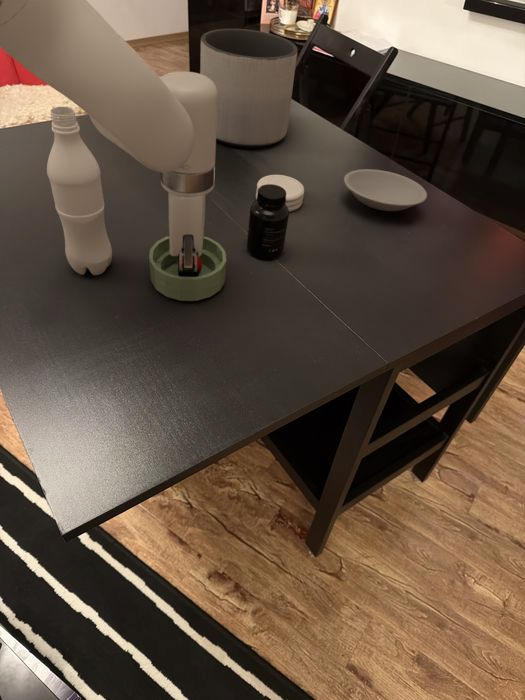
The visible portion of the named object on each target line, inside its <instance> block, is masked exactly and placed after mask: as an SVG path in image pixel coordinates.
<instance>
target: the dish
mask: <svg viewBox="0 0 525 700" xmlns="http://www.w3.org/2000/svg"><path fill="white" fill-rule="evenodd" d="M343 183H344V185H345V187H346V188H347V189H348V190H349V191H350V192H351V194H352V195H353V196H354V197H355V198H356V199H357V200H358V201H359V202H360V203H362V204H363V205H365V206H366V207H369V208H371V209H375V210H378V211H384V212H399V211H404V210H406V209H409V208H411V207H414V206H417V205H420V204H422V203H423V202H425V201H426V199H427V198H428V193H427V191H426V189H425V188H424V187H423V186H422V185H421V184H419V182H417V181H415V180H414V179H411V178H409V177H407V176H404V175H401V174H400V173H399V174H398V173H395V172H392V171H388V170H386V171H385V170H380V169H373V168H372V169H371V168H368V169H367V168H366V169H365V168H364V169H356V170H351V171H350V172H347V173H346V174H345V175H344V177H343Z"/></svg>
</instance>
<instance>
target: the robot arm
mask: <svg viewBox="0 0 525 700" xmlns="http://www.w3.org/2000/svg"><path fill="white" fill-rule="evenodd" d="M0 48H1V50H3V51H4V52H5V53H6V55H9V56H10V57H11V58H12V59H13V60H14V61H16V62H17V63H19V64H20V65H21V66H22V67H23V68H25V69H26V70H27V71H28V72H29V73H31V74H32V75H33V76H35V77H36V78H37V79H39V80H40V81H41V82H43V83H45V84H46V85H48V86H49V87H50V88H51V89H54V90H55V91H57V92H58V93H60V94H61V95H63V96H64V97H66V98H67V99H68V100H70V101H71V102H72V103H74V104H75V105H76V106H77V107H79V108H80V109H81V110H82V111H84V112H85V113H86V114H88V116H89V119H90V121H91V123H92V124H93V127H95V129H96V131H98V132H99V134H101V135H102V136H103V137H104V138H105V139H107V140H109V141H110V142H112V144H114V145H115V146H117V147H118V148H120V150H123V152H125V153H127V154H128V155H129V156H131V157H132V158H133V159H134V160H136V161H137V162H139V164H141V165H142V166H143V167H145V168H146V169H149V170H151V171H153V172H157V173H160V185H161V187H162V189H164V190H165V191H166V192H168V193H167V195H168V196H167V197H168V198H167V199H168V200H167V206H168V208H167V209H168V211H167V212H168V236H169V242H170V255H171V256H178V255H179V265H180V267H178V276H180V277H197V276H199V268H197V256H198V257H199V256H200V255H201V254H202V247H203V237H204V236H205V223H206V200H207V199H206V198H207V197H206V196H207V195H208V194H210V192H212V191H213V190H214V188H215V179H216V178H215V176H216V151H217V140H216V126H217V89H216V86H215V84H214V83H213V81H212V80H211V79H209V78H208V77H206V76H204V75H201V74H200V73H198V72H194V71H184V70H183V71H182V70H181V71H179V70H178V71H172V72H168V73H166V74H163V75H162V76H159V75H158V74H157V73H156V71H155V70H154V69H153V68H152V67H151V66H150V65H149V64H148V62H147V61H145V60H144V59H143V58H142V56H141V55H140V54H139V53H138V52H137V51H136V50H135V49H134V48H133V47H132V45H130V44H129V43H128V42H127V41H126V40H125V39H124V38H123V37H122V36H121V35H120V34H119V33H118V32H117V31H116V30H115V29H114V28H113V27H112V26H111V25H110V24H109V23H108V21H107V20H106V19H105V18H104V17H103V16H102V15H101V14H100V13H99V12H98V10H97V9H96V8H95V7H94V6H93V5H92V4H91V3H90V2H89V1H88V0H0ZM183 256H184V262H183ZM192 257H194V262H192Z"/></svg>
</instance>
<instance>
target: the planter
mask: <svg viewBox="0 0 525 700" xmlns="http://www.w3.org/2000/svg"><path fill="white" fill-rule="evenodd" d="M297 59H298V47H297V45H296V44H295V43H293V42H292V41H291V40H289V39H287V38H285V37H282V36H280V35H276V34H273V33H269V32H265V31H261V30H256V29H255V30H254V29H245V28H221V29H220V28H219V29H213V30H209V31H207V32H205V33H204V34H202V35H201V37H200V65H199V66H200V67H199V68H200V69H199V74H201V75H204V76H206V77H208V78H209V79H211V80H212V81H213V83H214V84H215V86H216V89H217V126H216V142H219V143H222V144H224V145H228V146H232V147H236V148H237V147H238V148H244V149H246V148H247V149H251V148H252V149H254V148H255V149H256V148H265V147H269V146H272V145H274V144H276V143H278V142H281V140H283V139H284V138H285V137H286V135H287V132H288V127H289V122H290V121H289V120H290V113H291V105H292V97H293V87H294V80H295V73H296V65H297Z"/></svg>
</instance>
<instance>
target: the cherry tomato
mask: <svg viewBox="0 0 525 700" xmlns="http://www.w3.org/2000/svg"><path fill="white" fill-rule="evenodd" d="M183 262H184V256H183ZM192 262H194V257H192ZM178 267H180V265H179V261H178ZM197 268H199V273H200V272H201V270H202V261H201V259H200V258H199V257H198V256H197Z"/></svg>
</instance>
